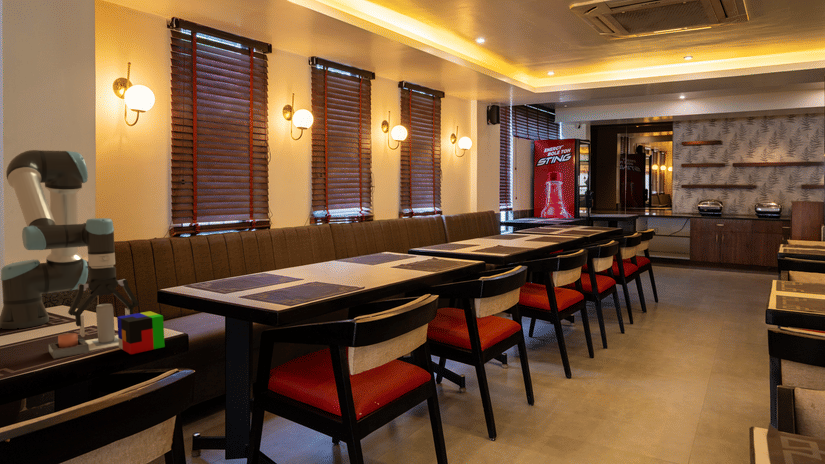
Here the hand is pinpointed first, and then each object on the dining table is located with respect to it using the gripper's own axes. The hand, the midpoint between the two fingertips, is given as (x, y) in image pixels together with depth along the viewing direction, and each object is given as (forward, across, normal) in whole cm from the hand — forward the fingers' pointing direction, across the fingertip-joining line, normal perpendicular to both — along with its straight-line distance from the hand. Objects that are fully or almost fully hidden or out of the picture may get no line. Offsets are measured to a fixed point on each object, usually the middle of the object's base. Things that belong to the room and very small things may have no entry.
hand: (106, 331), depth 173 cm
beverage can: (+3, 0, 0) cm, 3 cm away
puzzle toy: (+4, +7, -14) cm, 16 cm away
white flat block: (+4, 0, 0) cm, 4 cm away
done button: (+2, -11, -4) cm, 12 cm away
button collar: (+4, -11, -4) cm, 12 cm away
